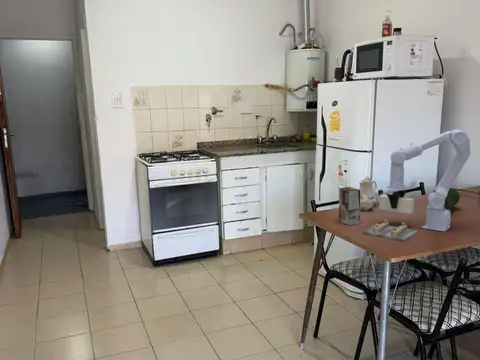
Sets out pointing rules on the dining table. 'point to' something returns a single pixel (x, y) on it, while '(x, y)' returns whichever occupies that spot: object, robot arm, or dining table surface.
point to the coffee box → (349, 205)
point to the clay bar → (403, 204)
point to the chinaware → (367, 194)
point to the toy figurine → (451, 200)
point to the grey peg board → (390, 231)
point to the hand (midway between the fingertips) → (396, 207)
